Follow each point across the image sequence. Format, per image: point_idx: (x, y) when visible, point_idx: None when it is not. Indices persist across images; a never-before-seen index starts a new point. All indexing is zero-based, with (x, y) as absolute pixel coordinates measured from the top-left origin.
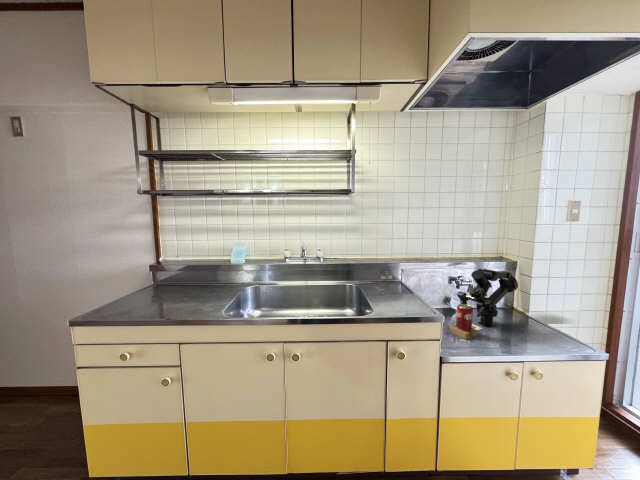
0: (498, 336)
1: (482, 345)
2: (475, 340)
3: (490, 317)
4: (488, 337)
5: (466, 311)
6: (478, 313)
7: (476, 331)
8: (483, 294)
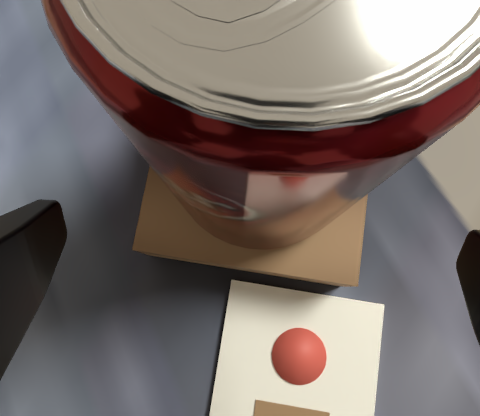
0: None
1: (34, 99)
2: (117, 143)
3: None
4: (57, 319)
5: None
6: (9, 226)
7: (139, 234)
8: None
